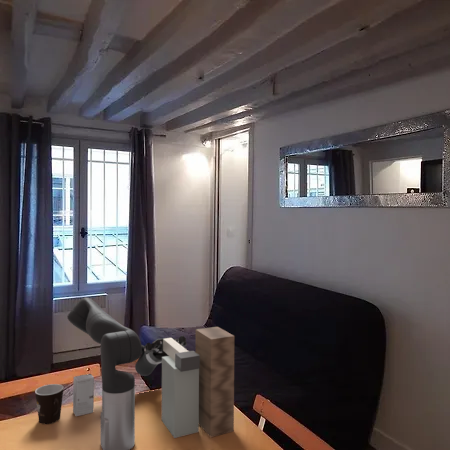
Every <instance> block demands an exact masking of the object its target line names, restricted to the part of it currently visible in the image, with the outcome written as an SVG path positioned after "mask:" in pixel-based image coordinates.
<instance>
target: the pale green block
mask: <svg viewBox="0 0 450 450" xmlns="http://www.w3.org/2000/svg"><path fill="white" fill-rule="evenodd" d="M161 422H162V423H163V424H164V427H166V428H167V430H168V432H169V433H170V434H171V436H172V437H173V438H174V439H176V438H180V437H184V436H187V435H192V434H196V433H199V429H200V428H199V427H200V425H199V369H194V370H189V371H183V372H181V371H180V370H179V369H177V368H176V367H175V361H174V360H173V359H172V358H171V357H170V356H165V357H162V362H161Z"/></svg>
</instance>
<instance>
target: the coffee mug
mask: <svg viewBox="0 0 450 450" xmlns="http://www.w3.org/2000/svg"><path fill="white" fill-rule="evenodd" d="M34 392H35V393H34V394H35V400H36V409H37V417H38V423H39V424H41V425H52V424H54V423H57V422H59V421H60V419H61V411H62V404H63V396H64V385H62V384H58V383H54V384H53V383H50V384H45V385H42V386H39V387H37V388H36V389H35V390H34Z"/></svg>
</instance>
